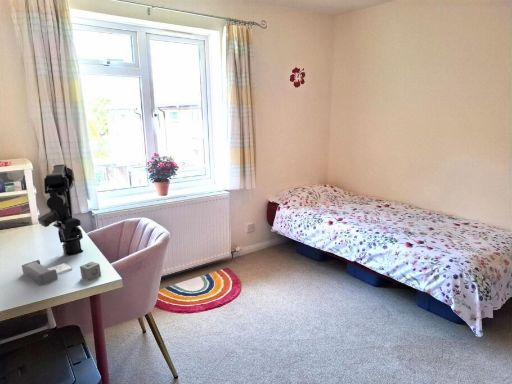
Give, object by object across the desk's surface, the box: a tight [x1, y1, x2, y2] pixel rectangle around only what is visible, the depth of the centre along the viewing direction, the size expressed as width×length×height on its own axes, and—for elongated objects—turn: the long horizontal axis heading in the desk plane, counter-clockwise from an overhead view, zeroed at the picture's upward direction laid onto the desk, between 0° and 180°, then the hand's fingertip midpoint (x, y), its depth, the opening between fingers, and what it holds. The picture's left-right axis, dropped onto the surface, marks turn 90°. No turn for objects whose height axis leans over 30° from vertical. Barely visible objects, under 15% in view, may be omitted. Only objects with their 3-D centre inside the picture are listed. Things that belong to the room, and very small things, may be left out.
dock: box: [21, 259, 58, 287], centre depth 136 cm, size 6×17×4 cm, turn 52°
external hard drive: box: [47, 262, 73, 276], centre depth 139 cm, size 2×8×12 cm
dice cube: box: [79, 261, 102, 282], centre depth 134 cm, size 5×5×5 cm
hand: (66, 239), depth 145 cm, fingers closed
